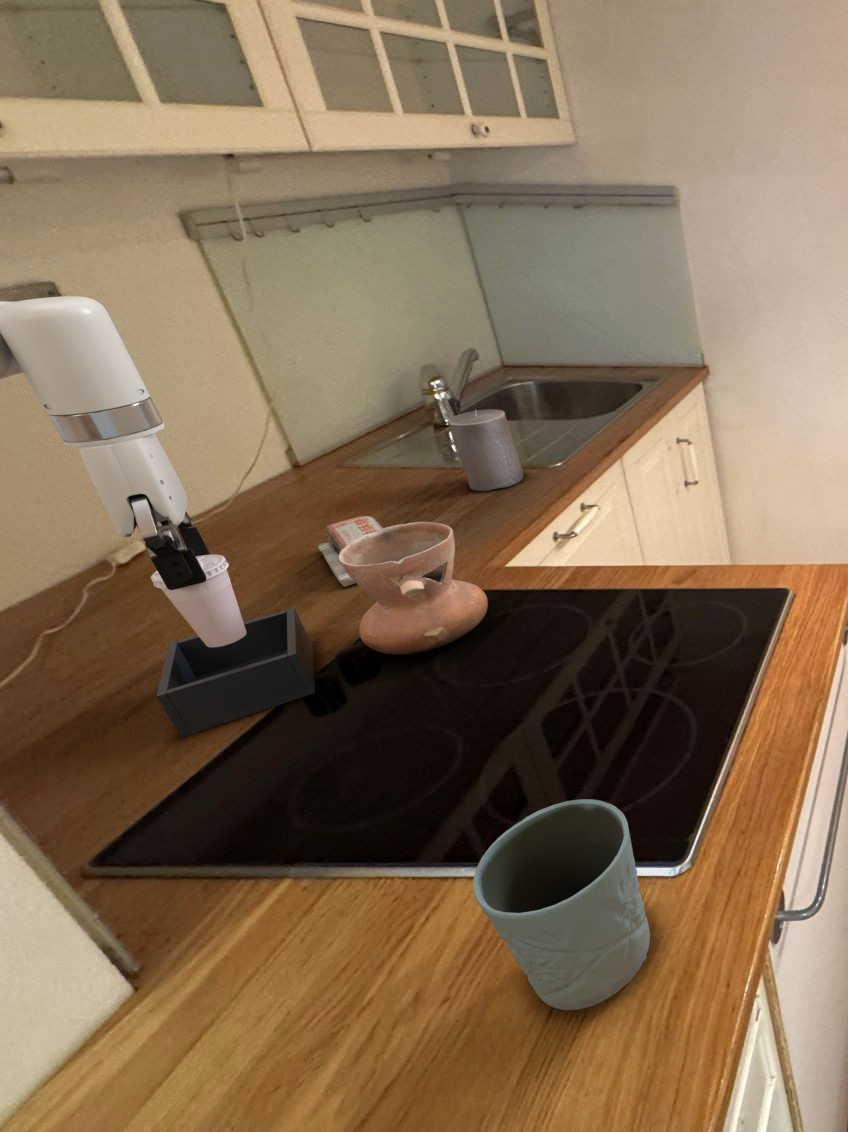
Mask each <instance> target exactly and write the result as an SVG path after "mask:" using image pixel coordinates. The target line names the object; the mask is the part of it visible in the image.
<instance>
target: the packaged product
mask: <svg viewBox="0 0 848 1132" xmlns="http://www.w3.org/2000/svg"><path fill="white" fill-rule="evenodd" d="M387 527H388V526H386V527H385V528H387ZM383 528H384V527H383V526H382V525H381V523H379V521H377V519H376V518H374V517H373V516H369V515H368V516H367V515H359V516H357V517H352V518H349V519H346V520H345V519H344V520H342V521H338V522H335V523H331V524H329V525H327V526H326V533H327V538H328V540H329V541H328V542H321V543H320V544H318V545H317V548H318V550H319V551H320V553H321V554H322V555H323V558H324V560H325V561H326V563H327V564H328V566H329V568H330V570H331V572H332V573H333V575H334V576H335V578H336V579H337V581H338V582H339V583H340V584H341V585H342V586H343V587H344V588H346V587H349V586H352V585H354V584H356V583H355V581H354V580H353V579H352V578H351V577H350V576H349V575H348V574H347V572H346V571H345V570H344V568H343V567H342V565H341V563H340V561H339V554H340V552H341V550H342V549H344V548H345V547H346V546H347V545H348V544H350V543H351V542H353V541H355V540H357V539H358V538H360V537H362V536H364V535H366V534H370V533H373V532H376V531H379V530H381V529H383Z"/></svg>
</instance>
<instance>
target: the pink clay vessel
mask: <svg viewBox="0 0 848 1132" xmlns="http://www.w3.org/2000/svg"><path fill="white" fill-rule="evenodd" d="M386 527H387V528H386ZM386 527H383V529H381V530H379V531H376V532H373V533H370V534H366V535H364V536H362V537H360V538H358V539H357V540H355V541H353V542H351V543H350V544H348V545H347V546H346V547H345V548H344V549H342V550H341V552H340V554H339V561H340V563H341V565H342V567H343V568H344V570H345V571H346V572H347V574H348V575H349V576H350V577H351V578H352V579H353V580H354V581H355V584H356V585H357V586H358V587H359V588H360V589H361V590H363V591H364V592H365V593H366V594H367V595H369V596H370V597H371V598H372V599H374V600H375V603H374V604H373V605H371V607H369V609H368V610H367V611H366V612H365V613H364V614H363V616H362V618H361V620H360V622H359V627H358V635H359V637H360V639H361V641H362V643H363V644H364V645H365V646H367V647H368V648H370V649H371V650H373V651H376V652H379V653H382V654H386V655H394V656H402V655H403V656H405V655H413V654H419V653H425V652H429V651H432V650H436V649H439V648H442V647H445V646H447V645H448V644H451V643H453V642H455V641H457V640H459V639H461V638H462V637H464V636H465V635H467V634H468V633H470V632H471V631H472V630H474V629H475V628H476V627H478V625H479V624H480V623H481V621H482V620H483V619H484V618H485V615H486V614H487V611H488V606H489V602H488V601H489V599H488V597H487V594H486V593H485V591H484V590H483V589H481V588H480V586H478V585H476V584H473V583H471V582H468V581H463V580H457V579H453V574H454V566H455V554H456V549H455V548H456V544H455V543H456V541H455V535H454V530H453V529H452V528H451V527H450V526H449V525H447V524H444V523H439V522H431V521H415V522H408V523H405V524H404V523H400V524H396V525H391V526H386Z"/></svg>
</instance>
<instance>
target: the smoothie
mask: <svg viewBox="0 0 848 1132" xmlns="http://www.w3.org/2000/svg"><path fill="white" fill-rule="evenodd" d="M163 534H164V535H168V536H169V537H172V535H171V532H170V531H168V532H164V533H163ZM172 538H173V537H172ZM172 540H174V539H172ZM196 558H197V560H198V562H199V564H200V566H201V567H202V569H203V571H204V573H205V575H206V577H207V578H206V581H205V582H203V583H199V584H195V585H191V586H187V587H183V588H179V589H175V590H169V589H168V588H167V587H166V585H165V583H164V582H163V580H162V578H161V576H160V574H159V573H158V571H157V570H156V571H154V572H153V573H152V574H151V576H150V580H151V582H152V583H153V587H155V588H157V589H161V591H162V592H163V593H164V595H165V596H166V597H167V599H168V600H169V601H170V602H171V603H172V604H173V606H174V607H175V609H176V610H177V612H179V613H180V615H181V616H182V617H183V618H184V620H185V621H186V622H187V624H188V625H189V626H190V628H192V630H193V631H194V632H195V634H196V635H198V636H199V637H200V638H201V640H202V641H203V642H204V643H205V645H206V646H207V647H220V646H224V645H228V644H231V643H233V642H236V641H238V640H240V639H241V638H243V637H244V636H245V635H246V633H247V632H246V629H245V626H244V622H245V621H244V620H243V616H242V613H241V610H240V607H239V604H238V601H237V598H236V594H235V591H234V588H233V585H232V581H231V578H230V575H229V572H228V570H227V569H228V568H229V566H230V564H229V562H228V561H227V560H226V557H225V556H223V555H221V554H211V555H203V556H197V557H196Z"/></svg>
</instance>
